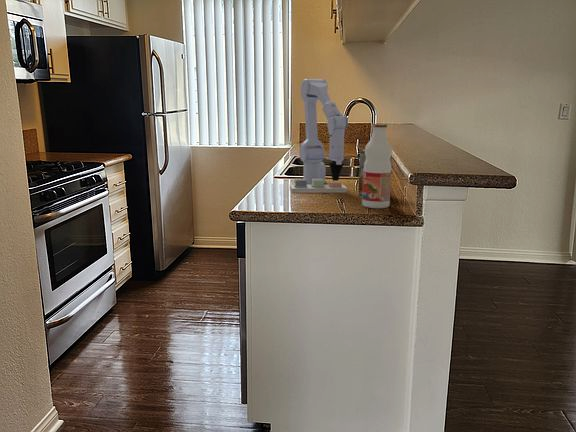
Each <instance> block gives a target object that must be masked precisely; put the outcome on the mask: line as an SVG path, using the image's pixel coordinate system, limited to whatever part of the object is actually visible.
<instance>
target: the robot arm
mask: <svg viewBox="0 0 576 432" xmlns="http://www.w3.org/2000/svg"><path fill="white" fill-rule="evenodd" d="M328 86H329V85H328V82H327V80H326V79H324V78H322V79H321V78H319V79H318V78H317V79H315V78H304V79H303V80H302V82H301V84H300V95H301V100H303V105H304V121H305V122H304V123H305V140H304V141H302V142H301V144H300V146H299V147H300V148H299V159H300V160H301V162H302V163H303V173H302V174H303V178H302V179H306V180H307V184H312V179H324V183H327V180H326V172H327V171H326V164H325V163H324V162H323V160H324V158H325V159H326V160H329V161H331V162H328V166H329V168H330V173H331V179H332V182H339V179H340V175H341V171H342V169H343V167H344V163H343V161H344V153H345V152H344V150H345V148H344V147H345V131H346V130H347V128H348V125H349V124H348V123H349V122H348V121H349V120H348V118H347V116H346V115H345V114H343V113H341V112H340V110H339V108H338V106H337V104H336V102H333V101H331V98H330V95H329V93H328V89H329V88H328ZM318 101H319V102H320V103H321V105H322V112H323V114H324V116H325V118H326V120H327V122H326V125H327V132H328V133H327V134H328V135H329V145H328V146H329V147H328V156H327V157H326V155H325V154H326V152H325V149H324V143H323V142H322V141H320V140H319V138H318V137H319V136H318V135H319V134H318V120H317V119H318V117H317V102H318Z"/></svg>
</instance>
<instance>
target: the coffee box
mask: <svg viewBox="0 0 576 432" xmlns="http://www.w3.org/2000/svg"><path fill="white" fill-rule="evenodd" d="M365 160H366V156H365V151H364V152H361V153H359V168H358V170H359V171H358V172H359V173H358V196H362V192H363V169H364V162H365Z"/></svg>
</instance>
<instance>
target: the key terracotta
mask: <svg viewBox="0 0 576 432" xmlns="http://www.w3.org/2000/svg"><path fill="white" fill-rule="evenodd" d="M328 184H329V187H342V184H343V183H342V182H341V181H328Z"/></svg>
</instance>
